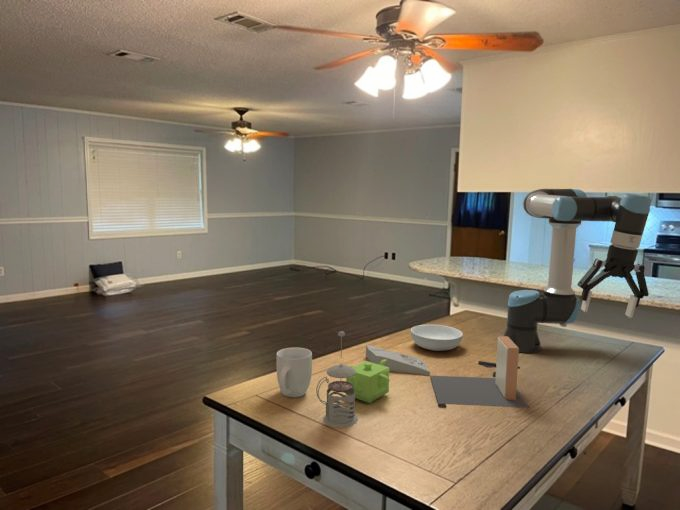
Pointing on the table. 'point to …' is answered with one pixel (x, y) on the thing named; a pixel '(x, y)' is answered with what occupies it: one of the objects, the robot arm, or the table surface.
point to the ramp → (396, 361)
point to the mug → (294, 371)
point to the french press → (335, 412)
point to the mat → (471, 392)
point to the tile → (507, 367)
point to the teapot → (370, 381)
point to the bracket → (490, 366)
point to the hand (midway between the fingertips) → (606, 313)
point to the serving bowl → (436, 337)
